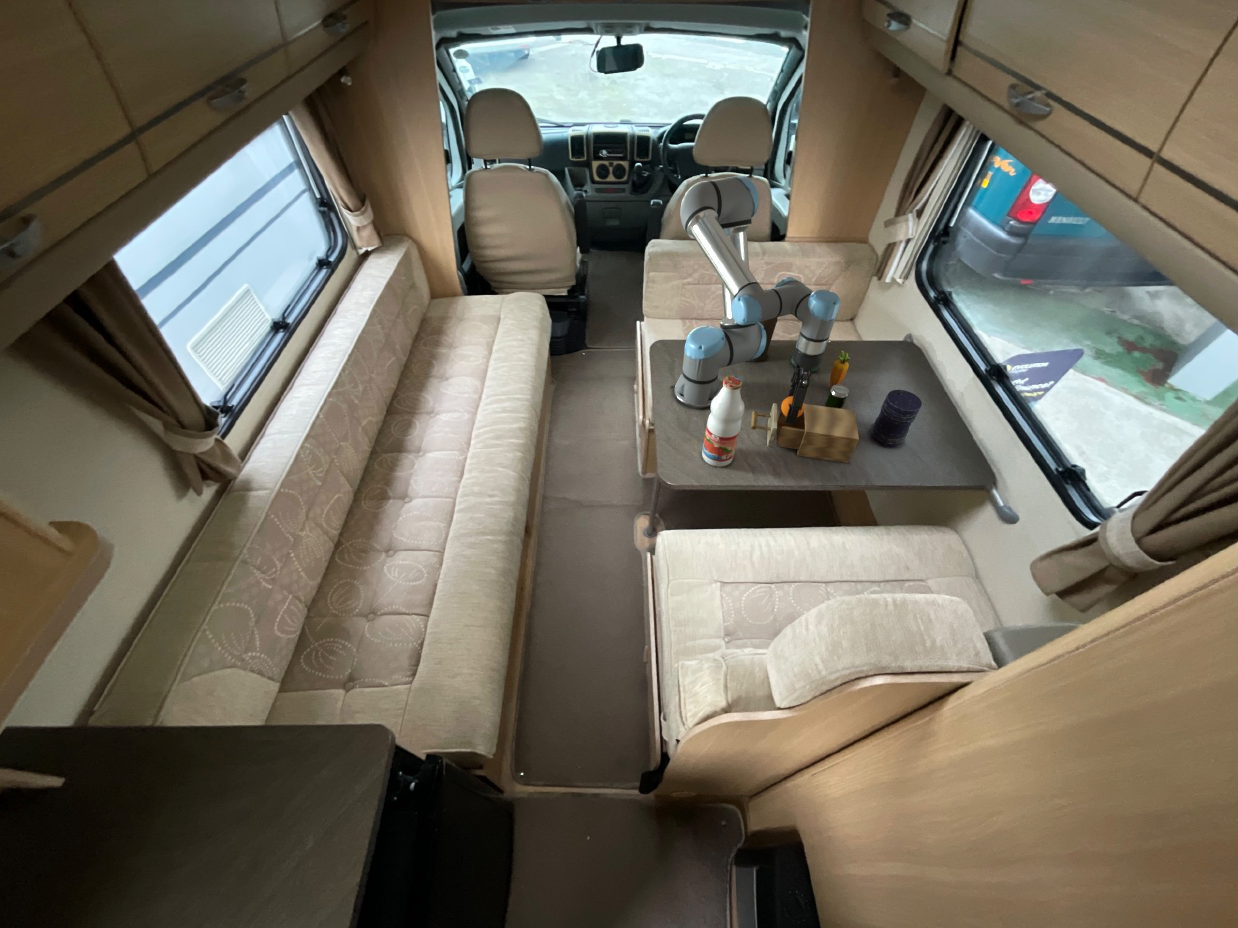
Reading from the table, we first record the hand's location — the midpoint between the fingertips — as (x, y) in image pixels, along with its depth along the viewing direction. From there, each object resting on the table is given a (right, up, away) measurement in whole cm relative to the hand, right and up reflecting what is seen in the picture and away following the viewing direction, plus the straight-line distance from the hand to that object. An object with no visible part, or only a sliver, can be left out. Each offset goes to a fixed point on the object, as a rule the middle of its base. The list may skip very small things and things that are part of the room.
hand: (789, 414), depth 165 cm
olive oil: (-1, +25, +39) cm, 46 cm away
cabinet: (+11, -9, +6) cm, 16 cm away
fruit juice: (-21, -12, +2) cm, 25 cm away
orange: (0, +2, -2) cm, 3 cm away
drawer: (-1, -6, +7) cm, 9 cm away
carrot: (+22, +11, +25) cm, 35 cm away
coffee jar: (+16, +20, +35) cm, 43 cm away
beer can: (+17, 0, +15) cm, 22 cm away
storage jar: (+33, -6, +9) cm, 34 cm away
